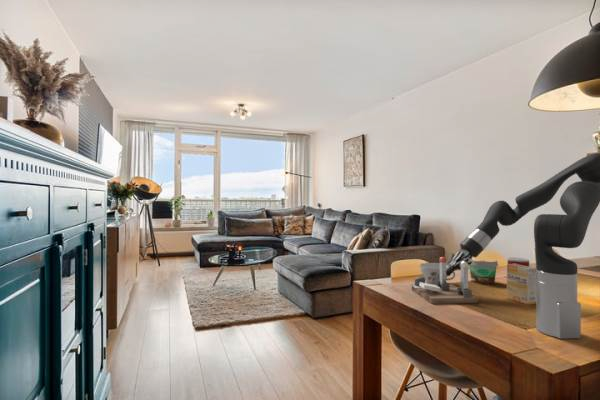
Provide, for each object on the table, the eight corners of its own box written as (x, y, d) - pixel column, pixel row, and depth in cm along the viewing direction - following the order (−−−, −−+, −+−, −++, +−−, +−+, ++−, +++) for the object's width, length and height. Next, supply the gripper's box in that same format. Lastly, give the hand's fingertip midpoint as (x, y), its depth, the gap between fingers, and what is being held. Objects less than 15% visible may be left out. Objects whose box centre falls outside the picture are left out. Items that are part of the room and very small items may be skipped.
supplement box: (506, 298, 125) (505, 264, 125) (515, 297, 127) (514, 263, 127) (527, 305, 118) (527, 268, 118) (537, 303, 119) (536, 267, 119)
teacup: (415, 283, 149) (414, 265, 149) (426, 278, 158) (425, 261, 158) (450, 289, 139) (449, 270, 139) (459, 283, 148) (459, 265, 148)
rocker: (440, 291, 126) (440, 288, 126) (423, 288, 126) (424, 284, 126) (434, 288, 131) (435, 285, 131) (419, 285, 130) (419, 282, 130)
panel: (477, 302, 121) (477, 290, 121) (430, 303, 120) (430, 291, 120) (451, 288, 140) (450, 277, 140) (410, 289, 140) (410, 278, 140)
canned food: (532, 286, 143) (532, 260, 142) (511, 285, 144) (511, 260, 144) (524, 282, 150) (524, 257, 150) (504, 281, 152) (504, 257, 152)
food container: (471, 284, 147) (471, 261, 147) (467, 280, 153) (467, 259, 153) (502, 285, 144) (502, 262, 144) (497, 282, 150) (497, 260, 150)
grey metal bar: (470, 296, 122) (469, 261, 122) (463, 296, 122) (462, 262, 122) (465, 293, 125) (465, 260, 125) (458, 293, 125) (458, 260, 125)
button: (426, 286, 135) (426, 278, 135) (417, 286, 135) (417, 278, 135) (422, 283, 139) (422, 276, 139) (413, 283, 139) (413, 276, 139)
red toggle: (448, 289, 131) (447, 257, 131) (441, 289, 131) (441, 257, 131) (444, 287, 134) (444, 256, 134) (438, 287, 134) (437, 256, 134)
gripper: (492, 252, 127) (461, 285, 126) (473, 247, 140) (444, 276, 140) (478, 238, 127) (447, 271, 126) (460, 234, 140) (432, 264, 139)
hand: (445, 274), depth 133 cm, fingers closed
